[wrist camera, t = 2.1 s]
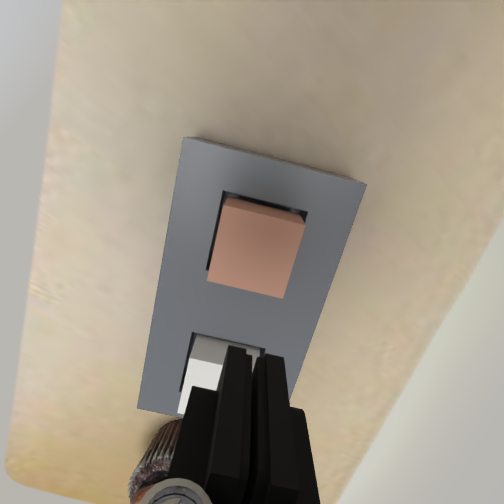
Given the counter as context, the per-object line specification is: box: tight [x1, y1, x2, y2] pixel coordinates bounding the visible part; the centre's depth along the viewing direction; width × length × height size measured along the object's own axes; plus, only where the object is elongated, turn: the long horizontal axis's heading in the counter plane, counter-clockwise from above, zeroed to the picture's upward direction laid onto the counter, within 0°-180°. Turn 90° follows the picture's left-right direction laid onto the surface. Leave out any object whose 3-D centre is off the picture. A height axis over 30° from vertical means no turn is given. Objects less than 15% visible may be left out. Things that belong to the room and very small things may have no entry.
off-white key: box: [177, 334, 260, 414], centre depth 25 cm, size 5×5×3 cm
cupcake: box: [128, 419, 183, 504], centre depth 30 cm, size 10×10×10 cm
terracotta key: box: [207, 196, 306, 299], centre depth 22 cm, size 5×5×3 cm
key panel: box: [137, 137, 367, 418], centre depth 27 cm, size 22×12×4 cm, turn 166°
